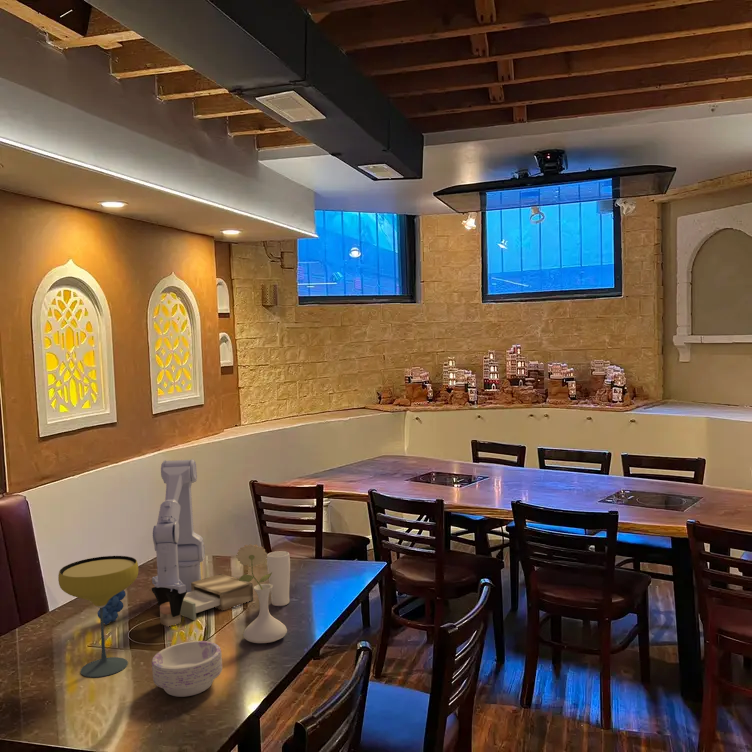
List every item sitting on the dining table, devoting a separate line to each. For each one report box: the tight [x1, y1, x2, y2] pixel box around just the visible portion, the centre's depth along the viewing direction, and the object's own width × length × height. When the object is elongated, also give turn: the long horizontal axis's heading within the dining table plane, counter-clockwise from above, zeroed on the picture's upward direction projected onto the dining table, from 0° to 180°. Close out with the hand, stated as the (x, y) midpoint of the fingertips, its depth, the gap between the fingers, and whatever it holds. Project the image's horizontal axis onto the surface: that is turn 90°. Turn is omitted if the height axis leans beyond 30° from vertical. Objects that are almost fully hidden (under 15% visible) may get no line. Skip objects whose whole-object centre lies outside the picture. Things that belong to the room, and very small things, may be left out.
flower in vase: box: [235, 543, 288, 644], centre depth 190 cm, size 13×11×25 cm
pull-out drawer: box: [180, 590, 220, 621], centre depth 215 cm, size 16×10×5 cm, turn 47°
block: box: [159, 612, 182, 628], centre depth 204 cm, size 4×4×4 cm
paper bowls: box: [151, 640, 223, 698], centre depth 163 cm, size 15×15×8 cm
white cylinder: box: [266, 550, 291, 607], centre depth 216 cm, size 7×7×15 cm
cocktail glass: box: [57, 555, 139, 679], centre depth 176 cm, size 18×18×25 cm
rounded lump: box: [159, 602, 171, 615], centre depth 204 cm, size 5×5×2 cm
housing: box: [191, 573, 254, 611], centre depth 222 cm, size 16×11×5 cm
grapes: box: [97, 589, 127, 625], centre depth 207 cm, size 12×7×12 cm, turn 165°
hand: (170, 613), depth 204 cm, fingers closed on rounded lump, 5 cm apart
